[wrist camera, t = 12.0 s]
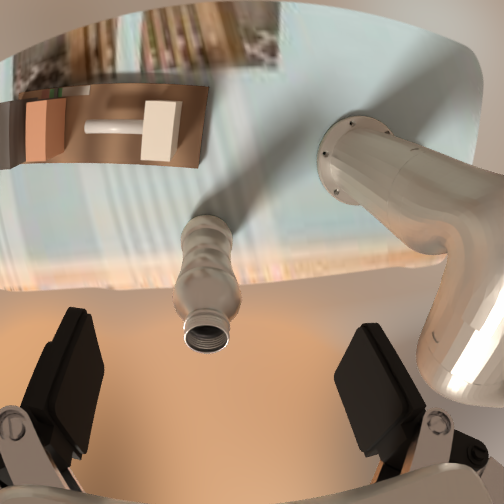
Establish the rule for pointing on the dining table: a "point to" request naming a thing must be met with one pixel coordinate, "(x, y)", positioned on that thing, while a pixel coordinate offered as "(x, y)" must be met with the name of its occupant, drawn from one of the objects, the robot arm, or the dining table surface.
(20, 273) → the dining table surface
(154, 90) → the base
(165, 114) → the plunger
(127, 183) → the dining table surface
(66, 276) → the dining table surface
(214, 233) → the plastic bottle
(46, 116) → the block
